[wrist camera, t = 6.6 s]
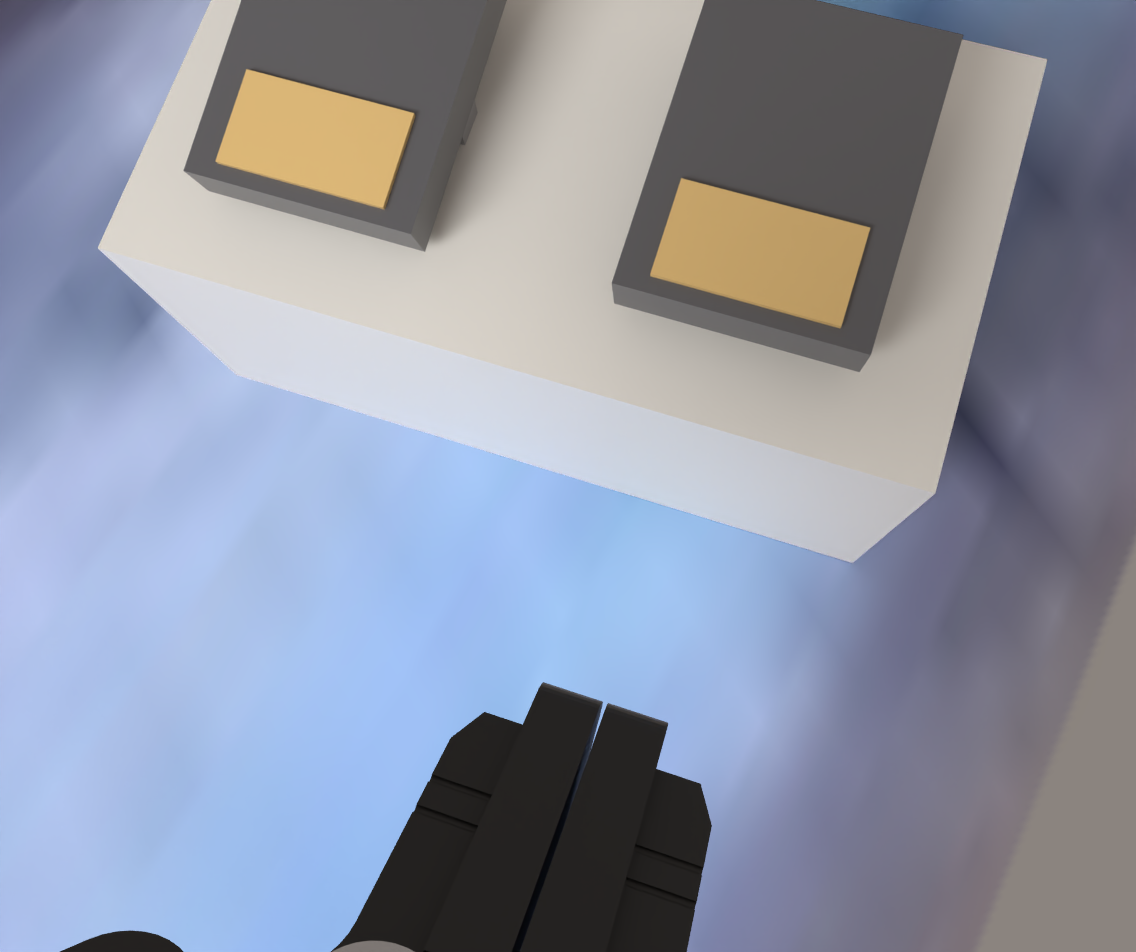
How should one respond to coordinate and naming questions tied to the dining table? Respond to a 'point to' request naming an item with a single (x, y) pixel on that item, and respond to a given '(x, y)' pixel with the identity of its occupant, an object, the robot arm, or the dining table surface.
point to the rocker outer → (787, 175)
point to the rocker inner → (345, 109)
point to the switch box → (590, 288)
